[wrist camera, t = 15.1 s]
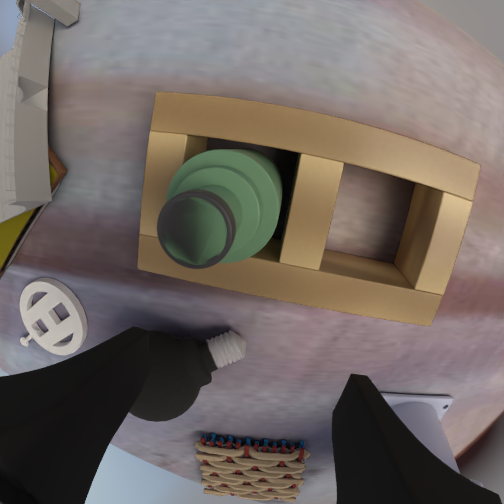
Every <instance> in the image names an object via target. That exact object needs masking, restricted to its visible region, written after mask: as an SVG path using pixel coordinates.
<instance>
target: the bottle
mask: <svg viewBox="0 0 504 504" xmlns="http://www.w3.org/2000/svg"><path fill="white" fill-rule="evenodd" d="M282 195H283V179H282V175H281V173H280V170H279V169H278V167H277V165H276V164H275V163H274V162H273V161H272V160H271V159H270V158H269V157H268V156H266V155H265V154H263V153H261V152H258V151H255V150H250V149H219V150H210V151H206V152H203V153H200V154H198V155H196V156H194V157H192V158H191V159H189V160H188V161H186V162H185V163H184V164H183V165H182V166H181V167H180V168H179V169H178V170H177V172H176V173H175V175H174V176H173V178H172V180H171V182H170V185H169V188H168V191H167V197H166V204H165V205H164V206H163V208H162V209H161V211H160V214H159V217H158V221H157V235H158V239H159V242H160V245H161V247H162V249H163V250H164V252H165V253H166V254H167V255H168V256H169V257H170V258H171V259H172V260H173V261H174V262H176V263H177V264H179V265H181V266H184V267H187V268H191V269H204V268H208V267H211V266H214V265H215V264H217V263H233V262H238V261H242V260H244V259H247V258H249V257H251V256H253V255H254V254H256V253H257V252H258V251H260V250H261V249H262V248H263V247H264V246H265V245H266V244H267V242H268V241H269V240H270V238H271V237H272V235H273V233H274V231H275V229H276V226H277V222H278V218H279V213H280V207H281V201H282Z"/></svg>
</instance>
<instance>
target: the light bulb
mask: <svg viewBox="0 0 504 504" xmlns="http://www.w3.org/2000/svg"><path fill="white" fill-rule="evenodd" d="M245 350H246V340H244V339H243V338H241V337H240V336H239V335H237V334H236V333H235V332H233V331H231V330H229V332H228V333H226V332H224V334H223V335H222V334H220V336H216V337H215V338H213V337H212V339H211V340H209V339H207V340H204V341H202V342H197V341H196V340H195V338H194V337H193V336H187V337H184V338H177V337H175V336H173V335H171V334H169V333H165V332H161V331H154V330H153V331H149V375H148V377H147V379H146V381H145V384H144V386H143V388H142V390H141V392H140V395H139V396H138V398H137V400H136V401H135V403H134V404H133V406H132V408H131V409H130V411H129V412H130V413H131V414H132V415H134V416H136V417H138V418H141V419H144V420H148V421H167V420H171V419H174V418H176V417H178V416H180V415H182V414H183V413H184V412H186V411H187V410H188V409H189V408H190V407H191V406H192V404H193V403H194V401H195V399H196V398H197V396H198V393H199V390H200V388H201V387H202V386H204V385H207V384H209V383H210V382H211V380H212V377H211V372H212V371H215V370H217V369H219V367H221V368H223V366H224V365H225V366H227V365H228V363H230V364H232V362H236V360H239V361H240V360H241V358H243V359H244V358H245Z"/></svg>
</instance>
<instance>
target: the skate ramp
mask: <svg viewBox="0 0 504 504" xmlns="http://www.w3.org/2000/svg"><path fill="white" fill-rule="evenodd" d="M16 4H17V6H18V8H19V10H20V12H21V14H22V16H23V18H22V19H20V20H19V23H18V27H17V33H16V37H15V42H14V43H15V44H14V47H13V48H12V49H11V50H10V51H9V52H7V53H6V54H5V55H4V56H3V57H1V59H0V126H1V131H0V172H1V177H0V223H2V222H4V221H7V220H9V219H11V218H13V217H16V216H18V215H20V214H22V213H25V212H27V211H29V210H32V209H34V208H36V207H39V206H41V205H44V204H46V203H49V202H51V201H52V196H51V187H50V175H49V161H48V138H47V101H48V77H49V63H50V53H51V43H52V35H53V28H54V21H55V19H57V20H58V21H60V22H62V23H63V24H65V25H66V26H69V25H70V24H72V23H74V22H75V21H77V20H78V16H79V6H80V3H79V2H78V1H76V0H17V2H16ZM31 4H33V5H35V6H36V7H38V8H39V9H41V10H43V11H44V12H46V13H47V14H49V15H51V16H52V17H54V18H55V19H53V18H51V17H49V16H48V15H47V14H45V13H43V12H42V11H40V10H38V9H37V8H35V7H33V6H32V5H31ZM7 59H8V60H7ZM6 65H7V66H6ZM5 72H6V73H5ZM4 79H5V80H4ZM3 87H4V89H3ZM2 97H3V99H2ZM1 109H2V112H1ZM1 192H2V194H1ZM2 205H3V207H2ZM3 215H4V217H3Z"/></svg>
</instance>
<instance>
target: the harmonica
mask: <svg viewBox="0 0 504 504" xmlns="http://www.w3.org/2000/svg"><path fill="white" fill-rule="evenodd" d="M48 161H49V175H50V187H51V196H52V197H53V195H54V194H55V192H56V191H57V189H58V187H59V185H60V182H61V180H62V179H63V177H64V176H65V174H66V173H67V169H66V168H65V167H64V165H63V164H62V163H61V161H60V160H59V159H58V157H57V156H56V155H55V153H54V152H53V151H52V149H51V148H50V147H49V145H48ZM47 204H48V203H46V204H44V205H41V206H39V207H36V208H34V209H32V210H29V211H27V212H25V213H22V214H20V215H18V216H16V217H13V218H11V219H9V220H7V221H4V222H2V223H0V278H1V276H2V274H3V272H4V271H5V269H6V267H8V266H9V265H10V263H11V262H12V260H13V258H14V257H15V255H16V253H17V251H18V250H19V248H20V246H21V245H22V243H23V241H24V240H25V238H26V236H27V235H28V233H29V231H30V230H31V228H32V227H33V225H34V224H35V222H36V221H37V219H38V217H39V216H40V214H41V213H42V211H43V210H44V208H45V207H46V206H47ZM2 207H3V205H2ZM3 217H4V215H3Z"/></svg>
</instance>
